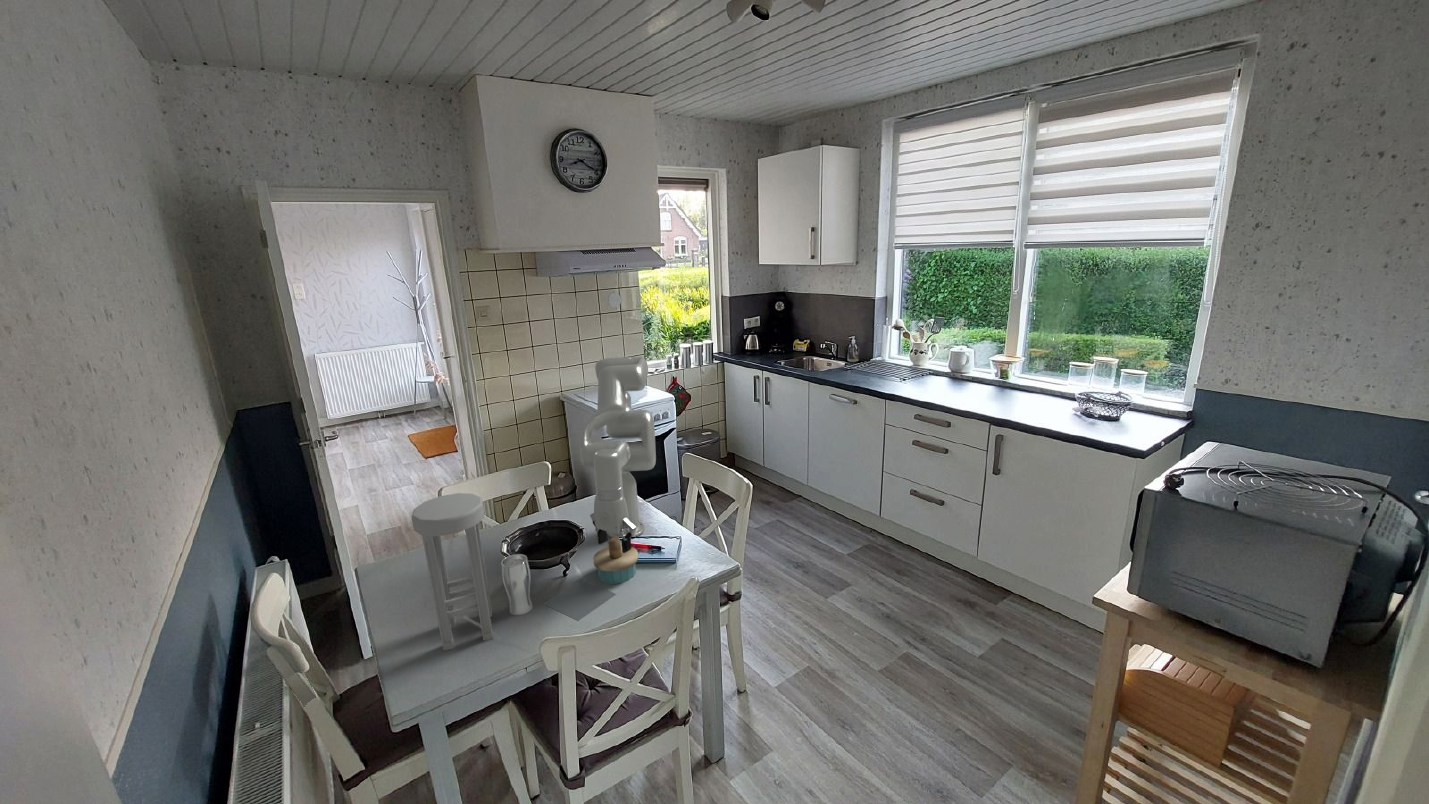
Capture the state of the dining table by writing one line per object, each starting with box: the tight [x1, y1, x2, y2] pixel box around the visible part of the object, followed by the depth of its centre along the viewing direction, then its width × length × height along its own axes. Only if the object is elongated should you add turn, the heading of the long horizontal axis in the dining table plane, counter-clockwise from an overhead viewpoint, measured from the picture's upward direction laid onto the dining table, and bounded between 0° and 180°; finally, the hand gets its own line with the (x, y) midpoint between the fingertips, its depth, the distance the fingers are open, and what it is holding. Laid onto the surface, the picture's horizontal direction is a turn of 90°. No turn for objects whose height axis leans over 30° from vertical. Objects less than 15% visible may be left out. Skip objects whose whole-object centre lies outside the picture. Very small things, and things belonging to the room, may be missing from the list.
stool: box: [411, 492, 494, 651], centre depth 144 cm, size 16×16×35 cm
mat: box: [542, 579, 617, 622], centre depth 160 cm, size 14×14×1 cm
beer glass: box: [500, 553, 534, 616], centre depth 155 cm, size 7×7×15 cm
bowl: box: [597, 563, 637, 585], centre depth 171 cm, size 11×11×5 cm
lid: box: [592, 537, 639, 572], centre depth 170 cm, size 13×13×6 cm
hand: (614, 546), depth 169 cm, fingers open, 9 cm apart
